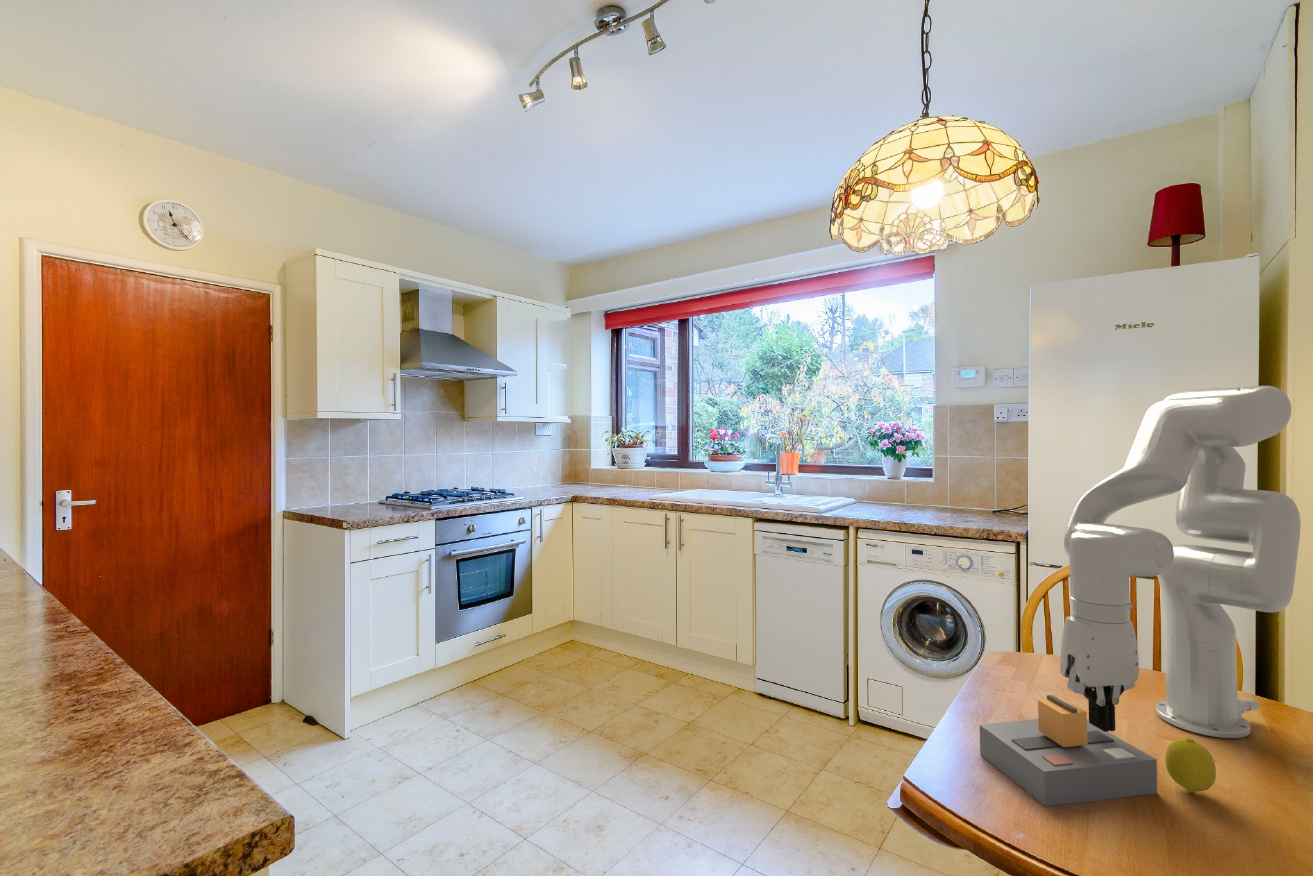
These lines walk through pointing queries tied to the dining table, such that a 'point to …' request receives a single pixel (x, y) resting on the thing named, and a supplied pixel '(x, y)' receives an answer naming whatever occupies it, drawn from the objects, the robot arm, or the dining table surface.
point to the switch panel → (1068, 764)
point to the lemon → (1190, 765)
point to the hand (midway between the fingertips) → (1101, 727)
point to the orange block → (1062, 721)
